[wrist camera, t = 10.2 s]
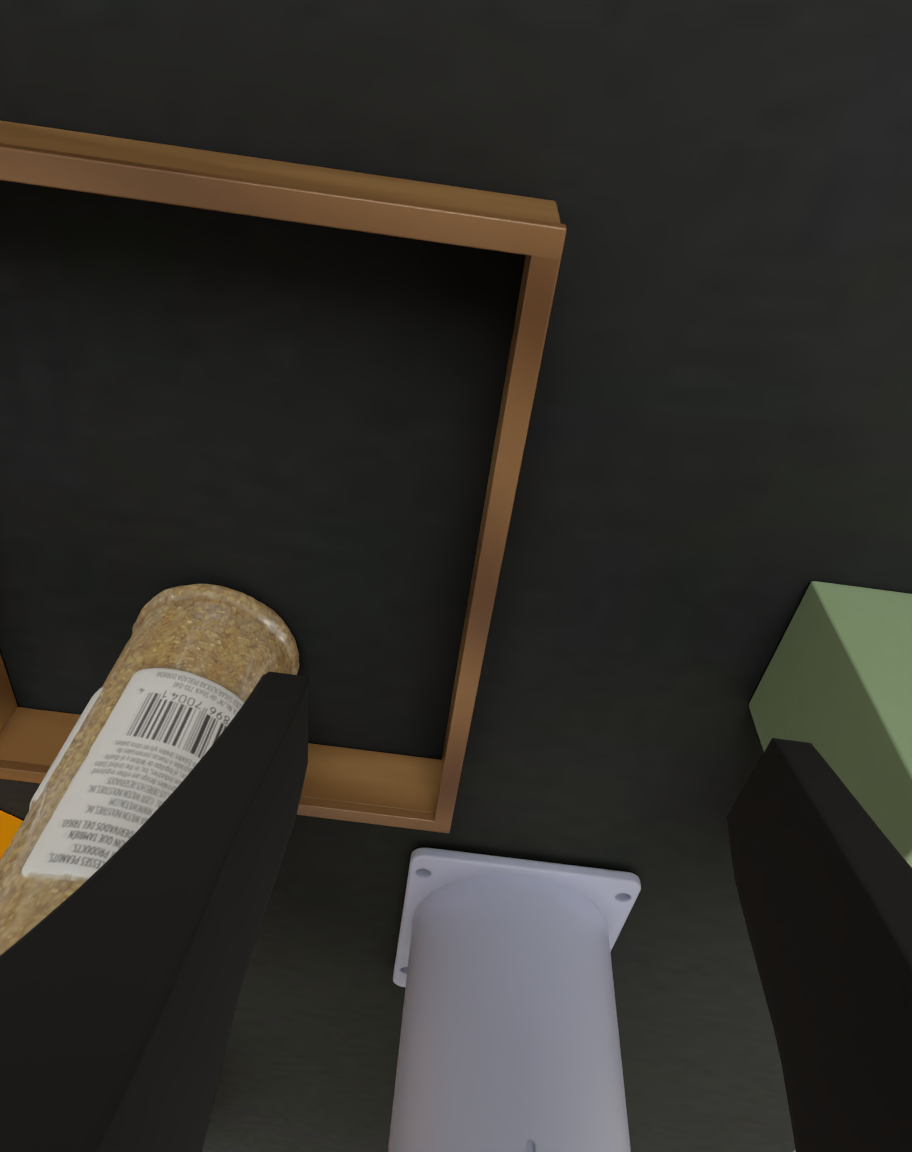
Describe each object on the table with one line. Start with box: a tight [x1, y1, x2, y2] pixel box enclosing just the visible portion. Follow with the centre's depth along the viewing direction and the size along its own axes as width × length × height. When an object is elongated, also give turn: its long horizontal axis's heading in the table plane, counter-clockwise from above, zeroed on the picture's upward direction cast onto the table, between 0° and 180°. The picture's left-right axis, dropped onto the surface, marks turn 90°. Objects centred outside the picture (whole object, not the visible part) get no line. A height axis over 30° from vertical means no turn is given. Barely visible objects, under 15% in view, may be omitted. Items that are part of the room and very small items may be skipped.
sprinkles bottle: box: [0, 584, 299, 955], centre depth 16 cm, size 5×5×13 cm
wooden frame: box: [0, 121, 567, 833], centre depth 18 cm, size 16×14×2 cm
